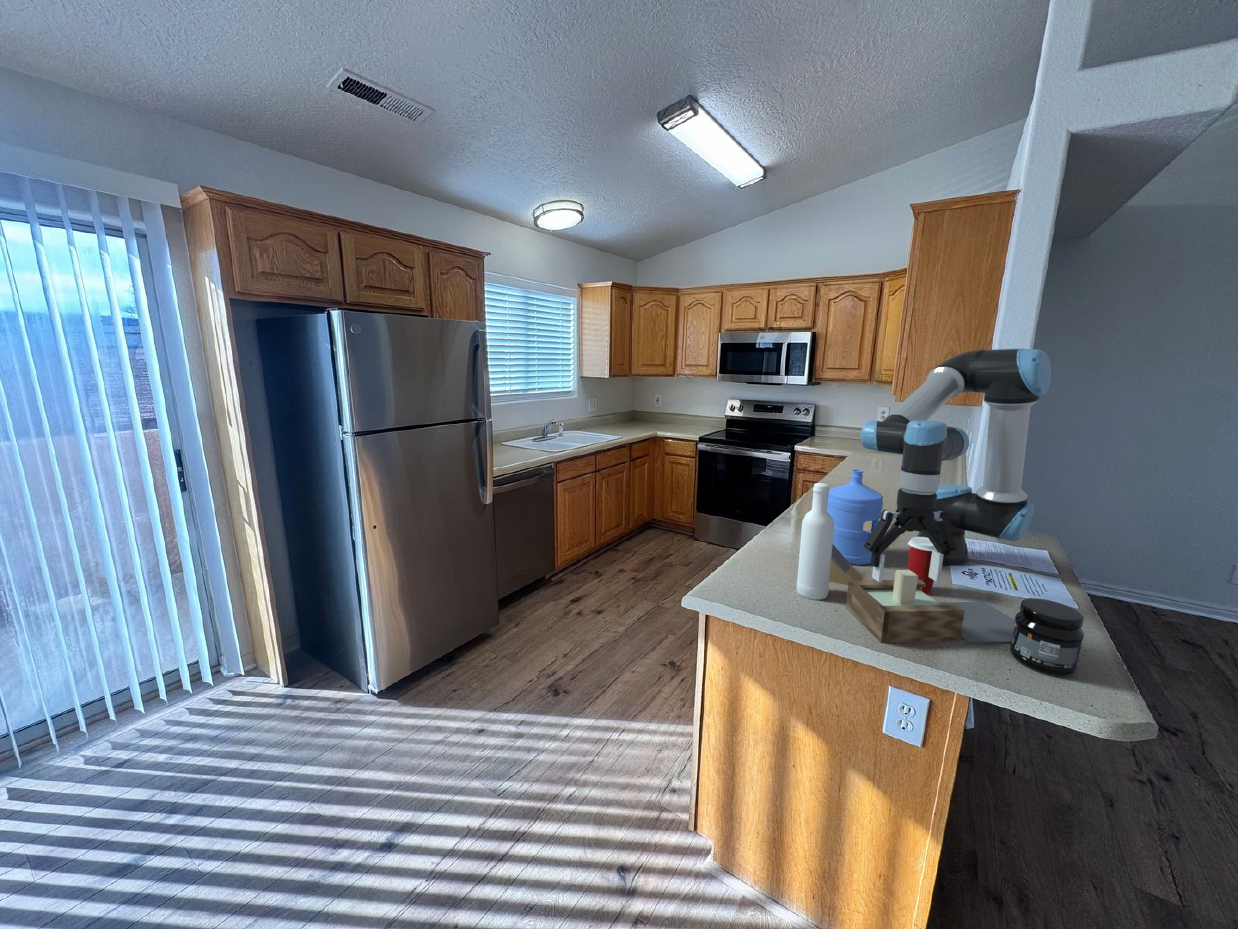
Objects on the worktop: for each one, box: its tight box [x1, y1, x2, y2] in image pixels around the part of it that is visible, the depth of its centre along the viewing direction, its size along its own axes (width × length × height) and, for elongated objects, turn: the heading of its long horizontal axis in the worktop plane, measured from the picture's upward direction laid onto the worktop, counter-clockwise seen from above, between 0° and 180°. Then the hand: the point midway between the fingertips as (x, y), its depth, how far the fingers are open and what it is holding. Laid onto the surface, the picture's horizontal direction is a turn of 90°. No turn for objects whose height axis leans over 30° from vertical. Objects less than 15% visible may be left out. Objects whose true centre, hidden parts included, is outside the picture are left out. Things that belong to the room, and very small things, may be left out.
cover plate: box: [864, 569, 940, 606], centre depth 113 cm, size 15×13×8 cm
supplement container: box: [1009, 597, 1085, 677], centre depth 99 cm, size 10×10×12 cm
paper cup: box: [907, 536, 937, 595], centre depth 131 cm, size 8×8×14 cm
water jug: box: [827, 469, 884, 566], centre depth 152 cm, size 16×16×28 cm
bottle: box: [796, 482, 834, 601], centre depth 127 cm, size 8×8×30 cm
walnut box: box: [845, 579, 965, 643], centre depth 114 cm, size 18×15×7 cm
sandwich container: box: [829, 545, 863, 586], centre depth 139 cm, size 9×15×15 cm, turn 59°
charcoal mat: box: [936, 601, 1015, 645], centre depth 115 cm, size 18×18×1 cm
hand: (905, 579), depth 112 cm, fingers open, 13 cm apart
